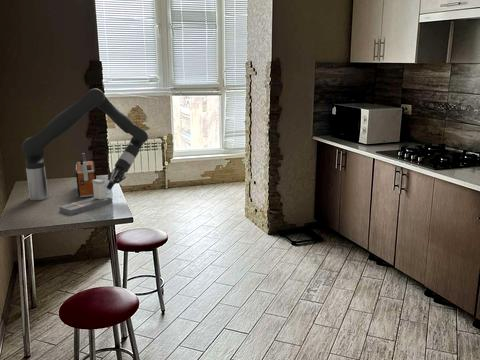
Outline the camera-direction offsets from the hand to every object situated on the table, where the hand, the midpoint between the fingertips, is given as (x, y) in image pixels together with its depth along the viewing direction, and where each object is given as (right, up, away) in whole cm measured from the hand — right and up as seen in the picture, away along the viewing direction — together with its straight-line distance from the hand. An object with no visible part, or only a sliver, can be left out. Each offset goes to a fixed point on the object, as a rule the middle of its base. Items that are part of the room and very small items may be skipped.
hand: (108, 188), depth 240 cm
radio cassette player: (-17, -2, +19) cm, 26 cm away
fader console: (-8, -9, -9) cm, 15 cm away
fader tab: (-4, -5, -4) cm, 7 cm away
